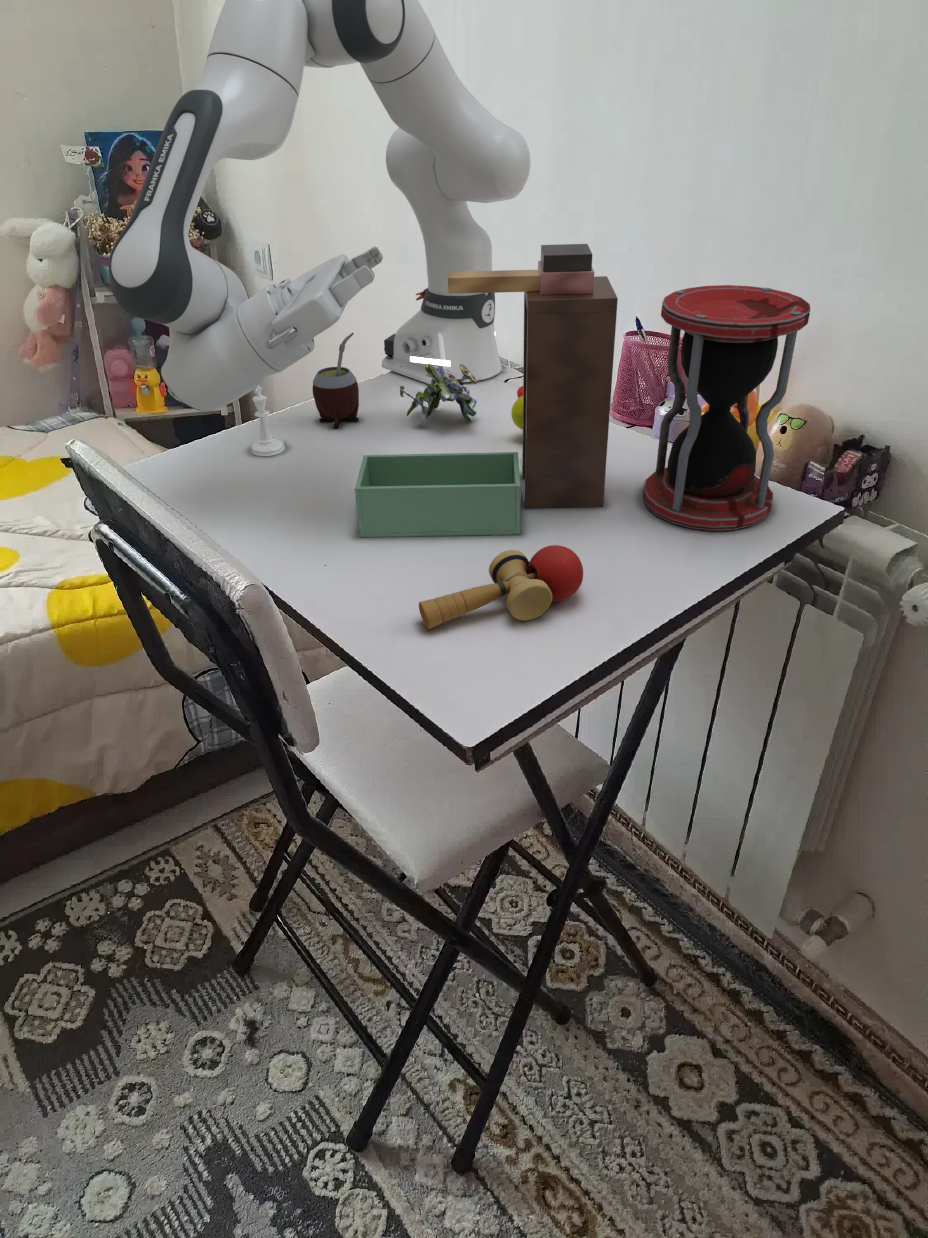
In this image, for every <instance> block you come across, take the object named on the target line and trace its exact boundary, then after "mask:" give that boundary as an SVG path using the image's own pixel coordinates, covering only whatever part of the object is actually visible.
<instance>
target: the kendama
mask: <svg viewBox="0 0 928 1238" xmlns="http://www.w3.org/2000/svg"><path fill="white" fill-rule="evenodd" d="M488 574H489V576H490V579H491V581H492V582H493V583H490V584H484V585H479V586H475V587H471V588H468V589H464V590H463V589H462V590H460V591H457V592H452V593H450V594H445V595H442V596H439V597H438V596H437V597H435V598H430V599H425V600H422V601H418V610H419V614H420V617H421V620H422V622H423V625H424V626H425V628H426V629H427V630H431V629H434V628H436V627H438V626H440V625H442V624H444V623H446V622H449V621H451V620H454V619H456V618H458V617H461V616H463V615H466V614H468V613H471V612H473V611H475V610H478V609H480V608H482V607H484V606H486V605H488V604H490V603H492V602H495V601H496V600H498V599H500V598H502V597H504V596H506V595H507V596H506V597H507V598H506V608H507V610H508V612H509V613H510V615H511V616H512V617H513V619H516V620H518V621H531V620H534V619H536V618H539V617H540V616H542V615H543V614H544V613H546V611H547V610H548V609H549V608H550V606H551V605H552V602H560V601H564V600H567V599H569V598H571V597H572V596H573V595H575V594H576V593H577V592H578V590H580V588H581V586H582V583H583V579H584V568H583V564H582V561H581V559H580V557H579V556H578V555H577V553H576V552H574V551H573V550H572V549H571V548H569V547H566V546H563V545H559V544H552V545H551V544H550V545H547V546H544V547H542V548H541V549H539V550H537V552H535V553H534V554H533V555H532V557H531V559H530V560H529V559H528V557H527V556H526V555H525V554H524V553H523V552H522V551H520V550H516V549H508V550H505V551H502V552H501V553H498V554H497V555H496V556H495V557H494V558H493V559H492V561H491V562H490V564H489V567H488Z"/></svg>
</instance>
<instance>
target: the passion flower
mask: <svg viewBox="0 0 928 1238" xmlns="http://www.w3.org/2000/svg"><path fill="white" fill-rule="evenodd" d="M427 366H428V367H427ZM425 369H426V371H427V373H428V374H429V375H430V376H431V378H432V380H431V385H430V384H427V386H426V387H425V388H424V390H423V392H422V391H418V392H417V393H416V394H415V397H413V395H411V394H410V393H408V392H406V390H405V389H406V388H405V387H406V386H404V385H399V395H400V397H401V398H404V394H405V395H406V396H407V397H409V398H411V399H412V400H413V401H411V406H410V407H409V408H408V410H407V412H406V417H409V416H410V415H411V413H412V412H413V411H414V409H416V408H417V407H418V406H420V407H421V412H420V413H421V418H420V423H419V425H418V428H421V427H422V425H423V424H424V422H425V420H427V419H428V418H429V417H430V416H431V415H432V412H433V411H434V410H436V409H438V408H439V406H440V402H441V401H442V402H444V403H445V402H454V401H455V402H456V403H457V404H458V405H459V407H460V413H461V415H462V418H463V419H464V421H466V422H469V423H473V417H475V416H476V414H477V413H478V412H477V411H476V410H475V409H474V408H475V407H476V406H477V402H478V401H477V400H476V399H475V398H473V397H472V395H471V392H470V391H471V390H470V389H469V388H468V387H467V386H464V382H463V381H464V380H465V379H469V380H470V381H472V383H473V384H475V385H476V384H477V383H478V381H476V378H475V377H474V376H473V375H472V374H471V372H470V371H469V370H468V369H467V368H466V367H465V366H464V365H462V364H460V369H461V372H462V373H463V375H464V376H463V377H462V378H461V379H456V378H455V377H454V375H453V374H452V373H451V371H450V372H449V371H447V370H446V369H444V368H443V366H442V367H440V366H439V365H438V368H436V369H435V368H434V366H433V365H432V364H426V365H425ZM424 403H426V404H427V406H426V405H424Z"/></svg>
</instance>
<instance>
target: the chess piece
mask: <svg viewBox="0 0 928 1238" xmlns="http://www.w3.org/2000/svg"><path fill="white" fill-rule="evenodd" d="M262 391H263V386H260V384H259V385H258V386H257V387H256V388H255V389H253V394H256V395H255V396H253V397H252V402H253V404H254V405H255V408H256V409H257V411H255V412H254V417H257V418H259V432H260V434H259V435H260V437H259V439H258V440H257V441H255V442H254V443H253V444H252V445H251V453H252V455H255V456H257V457H271V456H276V455H279V454H281V453H282V452H284V451H285V449H286V447H285V443H284V441H282V440H281V439H279V438H275V437H274V436H272V431H271V429H270V426H269V422H268V418H267V417H269V416H270V414H271V413H270V410H267V409H266V406H267V400H268V397H267V396H266V395H264V394H262V393H261V392H262Z"/></svg>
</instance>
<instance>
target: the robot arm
mask: <svg viewBox="0 0 928 1238" xmlns="http://www.w3.org/2000/svg"><path fill="white" fill-rule="evenodd" d="M357 63H359V65H360V67H361V69H362V70H363V72H364V74H365V76H366V78H367V80H368V81H369V83H370V85H371V87H372V88H373V90H374V92H375V94H376V95H377V97H378V99H379V100H380V103H381V104H382V106H383V108H384V110H385V111H386V113H387V115H388V116H389V118H390V119H391V121H392V122H393V123H394V124H395V125H396V126H397V127H398V128H397V129H396V130H393V131H394V132H392V134H391V136H390V137H389V139H388V142H387V145H386V149H385V165H386V166H385V167H386V170H387V174H388V177H389V178H390V181H391V182H392V183H393V185H394V186H395V187H396V188H397V189H398V190H399V191H400V192H401V193H402V194H403V196H404V197H405V199H406V200H407V202H408V203H409V205H410V207H411V209H412V211H413V213H414V216H415V218H416V220H417V223H418V225H419V228H420V232H421V236H422V239H423V244H424V252H425V263H426V264H425V265H426V276H427V278H426V279H427V287H426V288H424V289H423V290H422V291H420V292H416V293H415V296H417V297H416V298H415V301H419V300H422V302H421V306H420V310H419V311H417V312H416V313H415V314H414V315H412V317H410V318H409V320H407V321H406V322H405V323H404V324H403V325H401V326H400V327H399V328H398V329H397V330H396V332H395V333H393V334H391V335H389V336H388V337H387V338H385V339H384V340H383V345H384V347H383V351H384V355H386V356H385V357H384V358H383V359H381V360H382V361H381V368H383V369H386V370H388V371H391V372H394V373H396V374H399V375H402V376H405V377H408V378H411V379H413V380H415V381H419V382H421V383H425V384H427V385H429V386H430V385H431V380H432V378H431V376H430V375H429V374H428V373H427V371H426V369H425V365H426V364H432V365H433V366H434V368H435V369H436V368H438V365H439V366H440V367H442V366H443V368H444V369H446V370H447V371H449V372H450V371H451V373H452V374H453V375H454V377H455V378H456V379H461V378H462V377H463V376H464V375H463V373H462V372H461V369H460V364H462V365H464V366H465V367H466V368H467V369H468V370H469V371H470V372H471V374H472V375H473V376H474V377H475V378H476V381H477V382H479V381H484V380H487V379H490V378H493V377H496V376H498V375H499V374H500V373H501V372H502V371H503V365H502V361H501V359H500V355H499V351H498V345H497V338H496V335H497V334H496V330H495V317H496V316H495V314H496V293H459V294H449V293H448V273H449V272H466V271H493V243H492V240H491V237H490V236H489V234H488V232H487V231H486V230H485V229H484V228H483V227H482V226H481V225H480V224H479V223H478V222H477V221H476V220H475V218H474V217H473V215H472V213H471V211H470V209H469V205H468V203H467V202H470V203H478V204H479V203H480V204H481V203H482V204H492V203H498V202H504V201H509V200H512V199H515V198H516V197H518V196H519V195H520V193H521V192H522V191H523V190H524V188H525V187H526V184H527V182H528V180H529V176H530V171H531V153H530V149H529V146H528V143H527V141H526V139H525V137H524V136H523V135H522V133H521V132H519V131H518V130H516V129H514V128H512V127H510V126H509V125H507V124H505V123H504V122H502V121H501V120H500V119H498V118H497V117H495V116H494V115H493V114H492V113H491V112H490V111H489V110H488V109H487V108H486V107H485V106H484V105H483V104H482V103H481V102H480V101H479V99H477V98H476V97H475V96H474V95H473V94H472V93H471V91H470V90H469V89H468V88H467V87H466V86H465V84H464V83H463V82H462V80H461V79H460V78H459V77H458V75H457V73H456V72H455V70H454V68H453V65H452V64H451V62H450V60H449V58H448V56H447V54H446V52H445V50H444V48H443V46H442V44H441V42H440V39H439V37H438V36H437V34H436V31H435V30H434V27H433V25H432V22H431V21H430V19H429V17H428V15H427V13H426V11H425V10H424V8H423V7H422V5H421V3H420V2H419V0H225V1H224V4H223V5H222V8H221V10H220V13H219V15H218V19H217V20H216V23H215V27H214V30H213V33H212V37H211V40H210V43H209V47H208V51H207V54H206V60H205V64H204V67H203V70H202V74H201V76H200V78H199V81H198V82H197V84H196V87H195V88H194V89H191V90H189V91H187V92H185V93H184V94H183V95H181V97H180V98H179V99H178V101H177V102H176V103H175V105H174V106H173V109H172V110H171V112H170V114H169V117H168V118H167V120H166V122H165V125H164V128H163V130H162V133H161V135H160V138H159V141H158V142H157V143H158V144H157V145H156V149H155V151H154V154H153V157H152V160H151V162H150V165H149V168H148V170H147V173H146V175H145V179H144V181H143V183H142V186H141V189H140V192H139V195H138V197H137V200H136V202H135V205H134V208H133V210H132V212H131V215H130V216H129V219H128V221H127V223H126V224H125V226H124V228H123V229H122V231H121V233H120V234H119V236H118V237H117V239H116V241H115V243H114V245H113V247H112V249H111V251H110V254H109V258H108V264H107V268H108V269H107V271H108V273H107V274H108V279H109V285H110V288H111V291H112V293H113V297H114V299H115V300H116V302H117V304H118V305H119V306H120V307H121V308H122V309H123V311H125V312H126V313H127V314H129V315H130V316H132V317H135V318H138V319H141V320H143V321H147V322H151V323H155V324H160V325H163V326H165V327H167V328H168V330H169V342H168V351H167V356H166V360H165V361H164V363H163V364H162V365H161V368H160V374H161V378H162V380H163V383H164V384H165V386H166V387H167V389H168V390H169V391H170V392H171V394H172V395H173V396H174V397H175V398H177V399H178V400H179V401H180V402H182V403H183V404H184V405H186V406H187V407H190V408H192V409H194V410H196V411H199V412H204V413H210V412H214V411H216V410H219V409H221V408H224V407H226V406H228V405H230V404H232V403H234V402H235V401H237V400H239V399H241V398H242V397H244V396H245V395H247V394H249V393H251V392H252V391H254V390H255V389H256V387H257V386H258V385H259V386H260V385H261V382H262V381H263V380H265V379H266V378H267V377H269V376H272V375H276V374H278V373H281V372H283V371H284V370H286V369H288V368H289V367H290V366H292V365H294V364H295V363H297V362H299V361H300V360H301V359H303V358H305V357H306V356H308V355H310V354H311V353H312V352H313V351H314V350H315V337H316V336H318V335H320V334H321V333H323V332H325V331H326V330H328V329H329V328H331V327H333V326H334V325H335V324H336V323H337V322H338V321H339V320H341V317H342V315H343V313H344V311H345V308H346V306H347V305H348V302H350V301H351V300H352V299H353V298H354V297H355V296H356V295H357V294H358V293H360V292H361V291H362V290H363V289H364V288H366V287H367V286H368V285H371V284H372V283H373V282H374V280H375V277H376V276H375V275H376V274H375V272H374V271H373V270H372V269H373V268H375V267H376V266H378V265H379V264H381V263H382V261H383V259H384V255H383V253H382V252H381V250H380V248H379V247H378V246H376V245H375V246H372V247H370V248H369V249H367V250H365V251H364V252H362V253H360V254H358V255H355V256H353V257H352V258H350V259H349V257H348V256H347V255H346V254H340V255H337V256H335V257H333V258H330V259H328V260H326V261H324V262H323V263H321V264H319V265H317V266H316V267H314V268H312V269H310V270H309V271H307V272H305V273H303V274H301V275H299V276H298V277H296V278H294V279H293V280H291V279H290V278H286V279H284V280H282V281H280V282H279V283H275V284H272V283H269V284H268V285H266V286H264V287H263V288H261V289H260V290H259V291H257V292H256V293H255V294H253V295H251V296H250V297H249V294H248V290H247V288H246V286H245V283H244V282H243V281H242V279H241V278H240V277H239V276H238V274H236V273H235V271H234V270H232V269H231V268H229V267H227V266H226V265H225V264H222V263H221V262H219V261H218V260H216V259H214V258H212V257H211V256H209V255H206V254H204V253H203V252H201V251H200V250H198V249H196V248H195V247H193V246H192V244H191V241H190V237H189V236H190V235H189V232H190V231H189V230H190V226H191V223H192V221H193V218H194V216H195V213H196V209H197V208H198V204H199V202H200V200H201V196H202V193H203V191H204V189H205V186H206V183H207V180H208V177H209V175H210V173H211V172H212V169H213V168H214V167H215V165H216V164H217V163H219V162H220V161H222V160H224V159H233V160H241V161H257V160H261V159H264V158H267V157H269V156H270V155H273V154H275V152H278V150H279V149H281V148H282V147H283V145H284V143H285V142H286V140H287V137H288V135H289V133H290V131H291V128H292V125H293V122H294V119H295V115H296V114H295V113H296V109H297V106H298V101H299V98H300V97H299V96H300V92H301V87H302V82H303V77H304V71H305V67H307V68H316V69H317V68H318V69H331V68H334V67H338V66H348V65H352V64H353V65H354V64H357ZM427 367H428V366H427ZM471 382H472V381H470V380H469V379H465V380H464V381H463V383H471ZM472 383H473V382H472Z"/></svg>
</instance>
